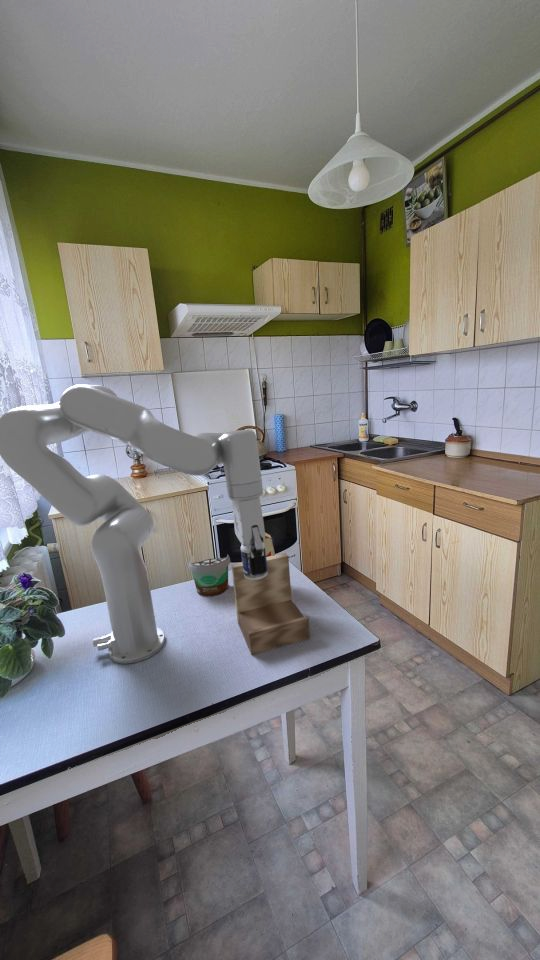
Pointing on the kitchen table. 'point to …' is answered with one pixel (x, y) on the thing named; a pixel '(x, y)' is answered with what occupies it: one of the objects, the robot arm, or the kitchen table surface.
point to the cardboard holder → (268, 607)
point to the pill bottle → (246, 563)
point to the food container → (211, 576)
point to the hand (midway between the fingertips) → (255, 566)
